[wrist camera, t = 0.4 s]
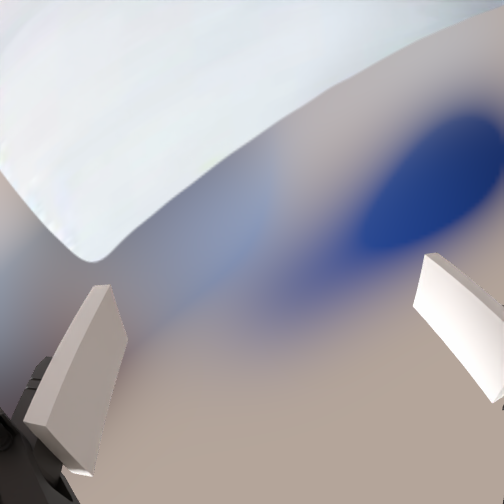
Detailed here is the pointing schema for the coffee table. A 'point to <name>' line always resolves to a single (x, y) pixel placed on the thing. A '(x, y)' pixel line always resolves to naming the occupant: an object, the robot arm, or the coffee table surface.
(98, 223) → the coffee table surface
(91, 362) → the robot arm
